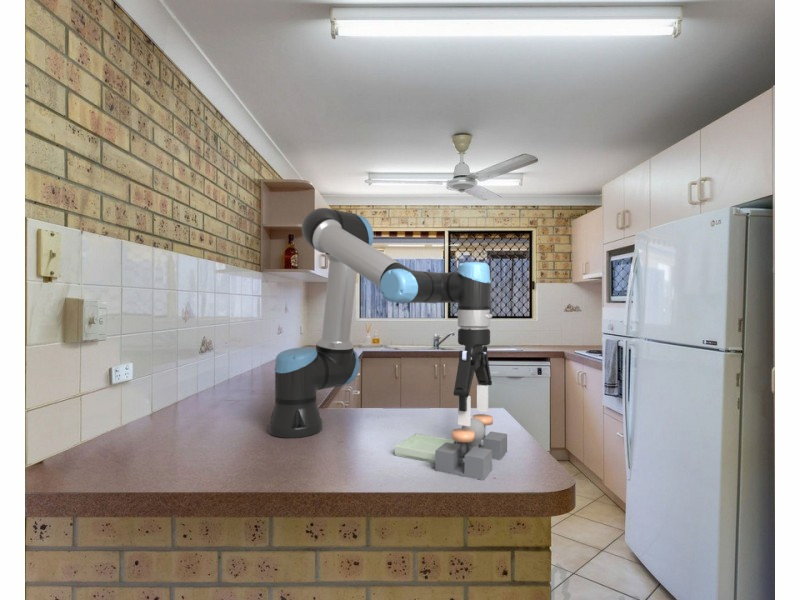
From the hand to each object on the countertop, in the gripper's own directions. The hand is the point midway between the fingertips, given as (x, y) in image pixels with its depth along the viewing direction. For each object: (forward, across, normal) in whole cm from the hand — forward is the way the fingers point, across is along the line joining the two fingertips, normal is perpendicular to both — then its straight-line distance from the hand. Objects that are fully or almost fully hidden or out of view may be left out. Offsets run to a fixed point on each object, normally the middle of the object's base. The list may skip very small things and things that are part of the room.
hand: (473, 418), depth 104 cm
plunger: (+7, -7, 0) cm, 10 cm away
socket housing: (+10, 0, 0) cm, 10 cm away
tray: (+10, 0, +12) cm, 16 cm away
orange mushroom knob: (+7, +7, 0) cm, 10 cm away
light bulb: (+10, 0, 0) cm, 10 cm away
